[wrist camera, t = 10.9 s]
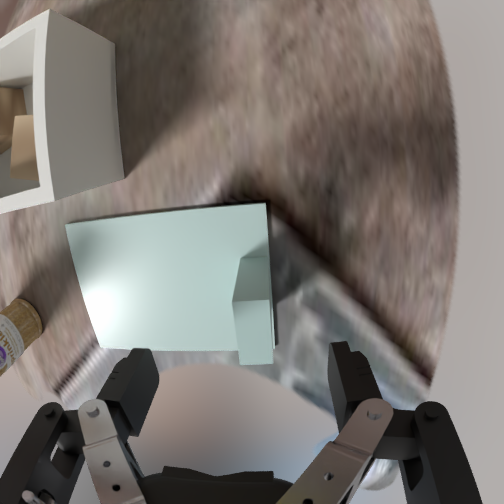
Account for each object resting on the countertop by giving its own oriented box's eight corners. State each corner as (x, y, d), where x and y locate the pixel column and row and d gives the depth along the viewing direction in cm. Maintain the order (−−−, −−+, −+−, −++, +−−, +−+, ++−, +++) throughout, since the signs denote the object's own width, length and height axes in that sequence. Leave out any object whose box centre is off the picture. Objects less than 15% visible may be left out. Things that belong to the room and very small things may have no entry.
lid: (70, 222, 21) (14, 251, 14) (265, 201, 20) (266, 228, 14) (104, 342, 25) (70, 391, 18) (274, 342, 24) (277, 405, 17)
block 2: (50, 116, 17) (14, 116, 13) (93, 116, 17) (58, 113, 13) (45, 170, 18) (10, 177, 15) (86, 174, 18) (52, 182, 15)
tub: (-10, 101, 17) (-75, 103, 9) (115, 44, 16) (49, 8, 8) (-1, 207, 20) (-65, 233, 13) (124, 178, 19) (54, 201, 12)
